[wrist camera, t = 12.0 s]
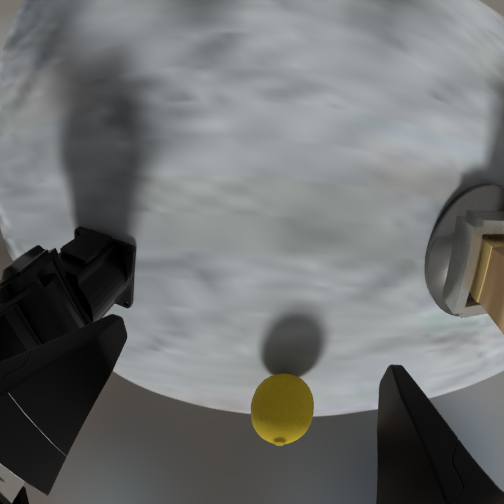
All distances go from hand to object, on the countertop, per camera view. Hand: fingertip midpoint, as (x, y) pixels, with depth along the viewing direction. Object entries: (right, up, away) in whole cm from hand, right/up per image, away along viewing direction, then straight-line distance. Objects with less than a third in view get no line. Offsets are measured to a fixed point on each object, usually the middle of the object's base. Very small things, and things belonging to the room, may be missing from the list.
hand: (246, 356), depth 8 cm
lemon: (+3, -9, +18) cm, 20 cm away
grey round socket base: (+20, +3, +10) cm, 22 cm away
